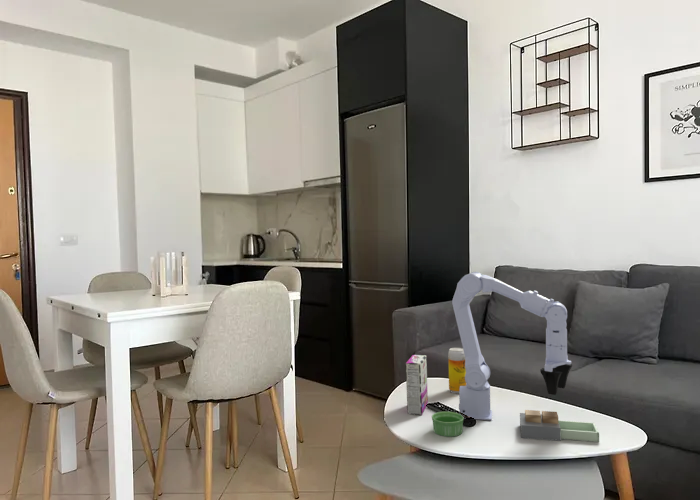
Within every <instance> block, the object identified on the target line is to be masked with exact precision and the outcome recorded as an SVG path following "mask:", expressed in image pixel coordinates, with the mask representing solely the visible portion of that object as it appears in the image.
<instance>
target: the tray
mask: <svg viewBox="0 0 700 500" xmlns="http://www.w3.org/2000/svg"><path fill="white" fill-rule="evenodd" d="M558 422H559V425H560V428H561V440H569V441H570V440H571V441H582V442H595V443H600V431H599V430H598V427H597V425H596V424H595V422H588V421H587V422H586V421H573V420H572V421H571V420H559V419H558Z"/></svg>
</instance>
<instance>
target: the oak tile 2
mask: <svg viewBox="0 0 700 500" xmlns="http://www.w3.org/2000/svg"><path fill="white" fill-rule="evenodd" d="M541 414H542V421H543V423H552V424H558V420H559V413H558V412H557V411H552V410H551V411H550V410H549V411H548V410H547V411H546V410H541Z"/></svg>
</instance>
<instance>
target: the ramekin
mask: <svg viewBox="0 0 700 500" xmlns="http://www.w3.org/2000/svg"><path fill="white" fill-rule="evenodd" d="M464 420H465V418H464V417H463V416H462V415H461V414H460V413H457V412H455V411H438V412H435V413H433V414H432V415H431V421H432V426H433V432H434V433H435V434H436V435H438V436H440V437H447V438H450V437H451V438H452V437H453V438H454V437H457V436H461V435H462V433H463V426H464V424H463V423H464Z"/></svg>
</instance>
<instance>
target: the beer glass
mask: <svg viewBox="0 0 700 500" xmlns="http://www.w3.org/2000/svg"><path fill="white" fill-rule="evenodd" d="M447 353H448V389H449V391H450V392H451V393H453V394H459V390H460V386H466V381H465V375H466V368H465V354H464V350H463V347H451V348H449V349H448V351H447Z"/></svg>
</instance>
